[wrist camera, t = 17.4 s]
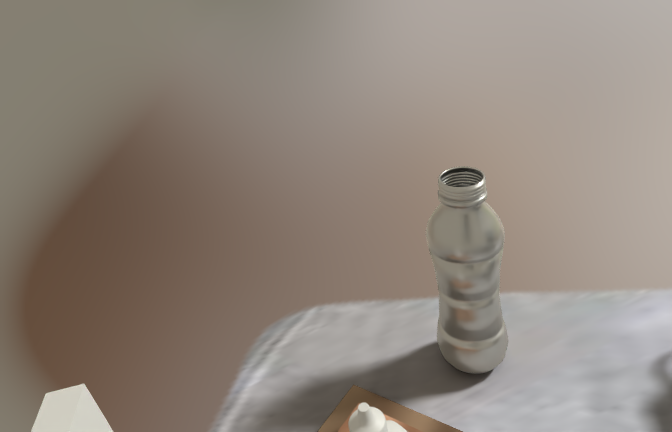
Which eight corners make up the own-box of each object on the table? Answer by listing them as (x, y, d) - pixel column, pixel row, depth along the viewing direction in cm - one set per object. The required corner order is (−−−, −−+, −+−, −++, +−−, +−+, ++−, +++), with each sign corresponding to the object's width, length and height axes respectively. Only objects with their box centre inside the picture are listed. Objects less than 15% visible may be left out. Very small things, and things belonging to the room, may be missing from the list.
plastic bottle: (478, 395, 49) (467, 207, 38) (424, 356, 54) (402, 181, 43) (523, 356, 51) (523, 172, 41) (468, 323, 56) (457, 151, 46)
